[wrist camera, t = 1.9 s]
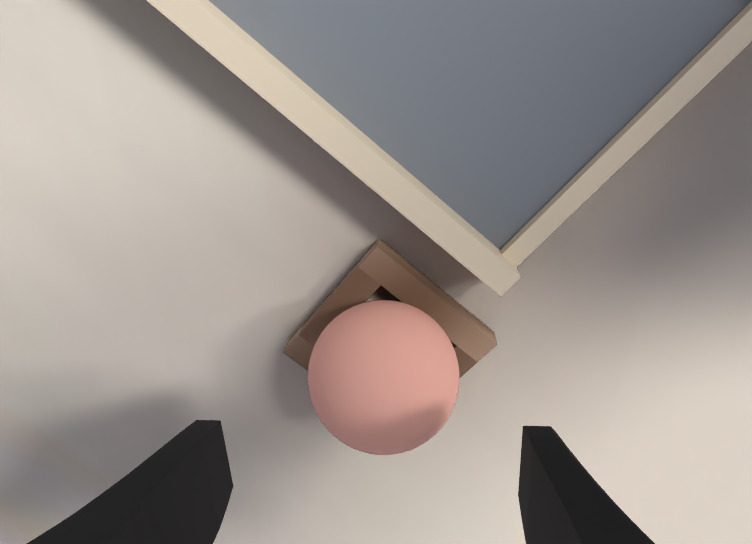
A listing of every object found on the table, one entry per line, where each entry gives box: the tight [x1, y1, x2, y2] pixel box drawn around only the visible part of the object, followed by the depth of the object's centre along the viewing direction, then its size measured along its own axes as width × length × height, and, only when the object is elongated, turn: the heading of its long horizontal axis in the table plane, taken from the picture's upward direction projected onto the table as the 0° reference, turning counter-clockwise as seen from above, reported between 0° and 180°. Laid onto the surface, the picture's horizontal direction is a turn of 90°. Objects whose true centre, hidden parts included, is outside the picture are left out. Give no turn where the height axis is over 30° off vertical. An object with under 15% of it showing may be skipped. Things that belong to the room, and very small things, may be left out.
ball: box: [308, 300, 459, 455], centre depth 15 cm, size 4×4×4 cm
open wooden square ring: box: [283, 239, 497, 378], centre depth 17 cm, size 5×5×1 cm
